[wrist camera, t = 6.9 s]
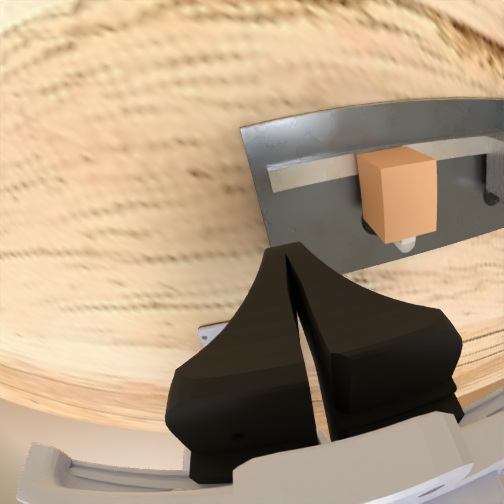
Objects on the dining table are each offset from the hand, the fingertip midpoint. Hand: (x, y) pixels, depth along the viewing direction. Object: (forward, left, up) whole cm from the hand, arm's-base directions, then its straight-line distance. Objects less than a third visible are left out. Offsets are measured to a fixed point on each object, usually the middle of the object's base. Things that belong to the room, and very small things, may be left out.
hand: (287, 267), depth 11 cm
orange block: (-1, -8, -9) cm, 12 cm away
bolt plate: (-2, -11, -10) cm, 16 cm away
